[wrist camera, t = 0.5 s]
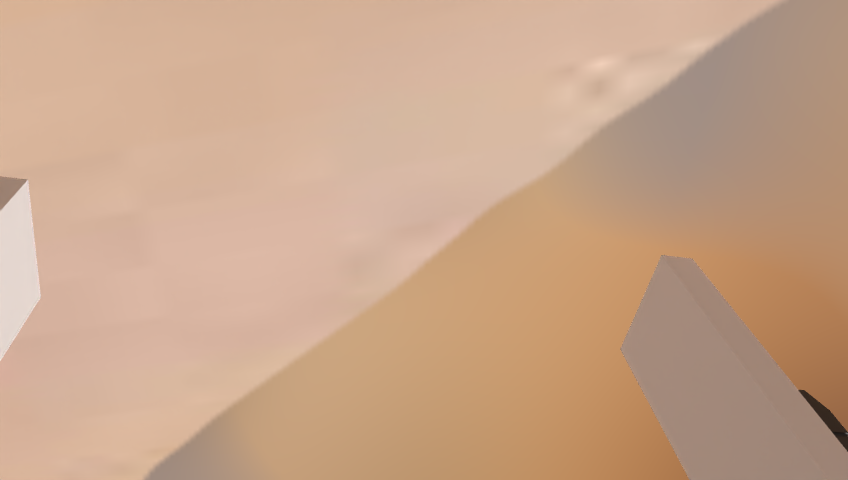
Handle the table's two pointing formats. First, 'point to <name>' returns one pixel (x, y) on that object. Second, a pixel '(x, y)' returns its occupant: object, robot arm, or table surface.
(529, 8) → the table surface
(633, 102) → the table surface
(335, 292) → the table surface
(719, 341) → the robot arm
